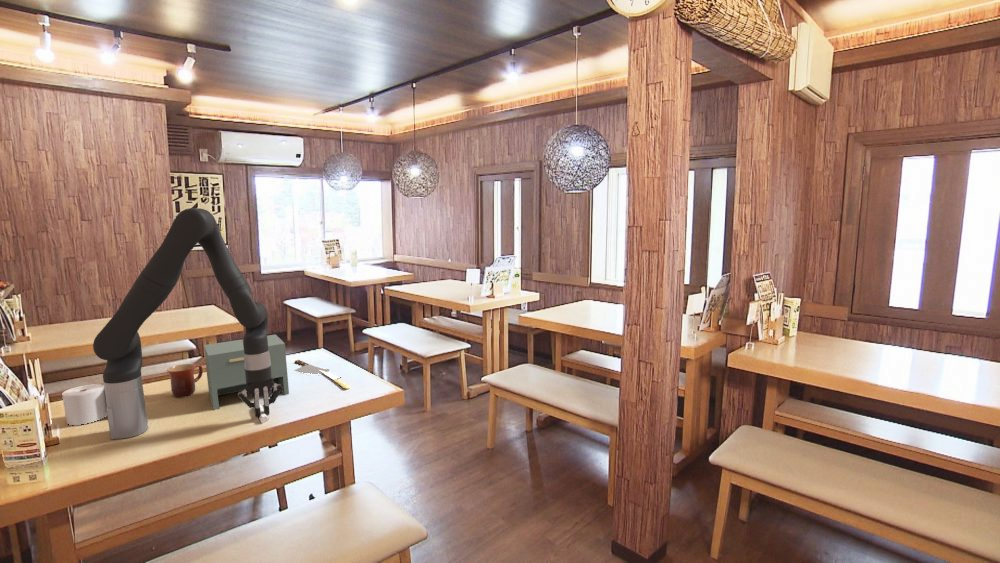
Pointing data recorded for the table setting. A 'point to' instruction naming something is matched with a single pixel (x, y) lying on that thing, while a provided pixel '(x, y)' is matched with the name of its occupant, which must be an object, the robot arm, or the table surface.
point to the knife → (335, 379)
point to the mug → (183, 379)
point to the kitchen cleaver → (309, 368)
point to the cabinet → (240, 367)
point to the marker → (263, 415)
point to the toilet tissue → (85, 404)
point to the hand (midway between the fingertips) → (262, 417)
